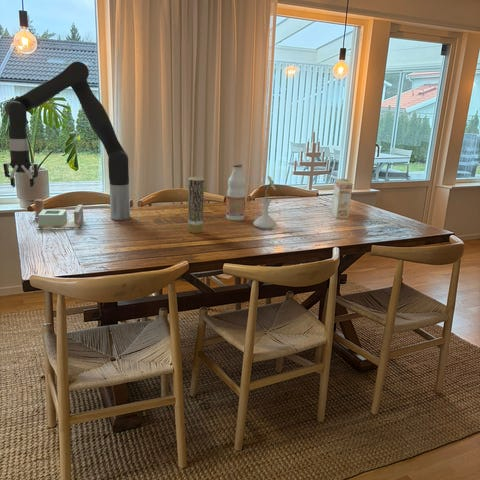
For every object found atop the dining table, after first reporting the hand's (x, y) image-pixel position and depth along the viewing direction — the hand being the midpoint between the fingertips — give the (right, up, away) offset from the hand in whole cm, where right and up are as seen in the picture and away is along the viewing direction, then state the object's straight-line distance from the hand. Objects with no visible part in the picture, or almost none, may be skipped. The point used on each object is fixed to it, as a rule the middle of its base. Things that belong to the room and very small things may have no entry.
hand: (22, 186), depth 204 cm
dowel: (0, -13, +19) cm, 23 cm away
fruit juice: (+94, -13, +34) cm, 101 cm away
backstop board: (+14, -17, +8) cm, 23 cm away
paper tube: (+76, -20, +8) cm, 79 cm away
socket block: (+11, -16, +7) cm, 20 cm away
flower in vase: (+109, -17, +21) cm, 113 cm away
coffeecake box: (+152, -10, +50) cm, 161 cm away
